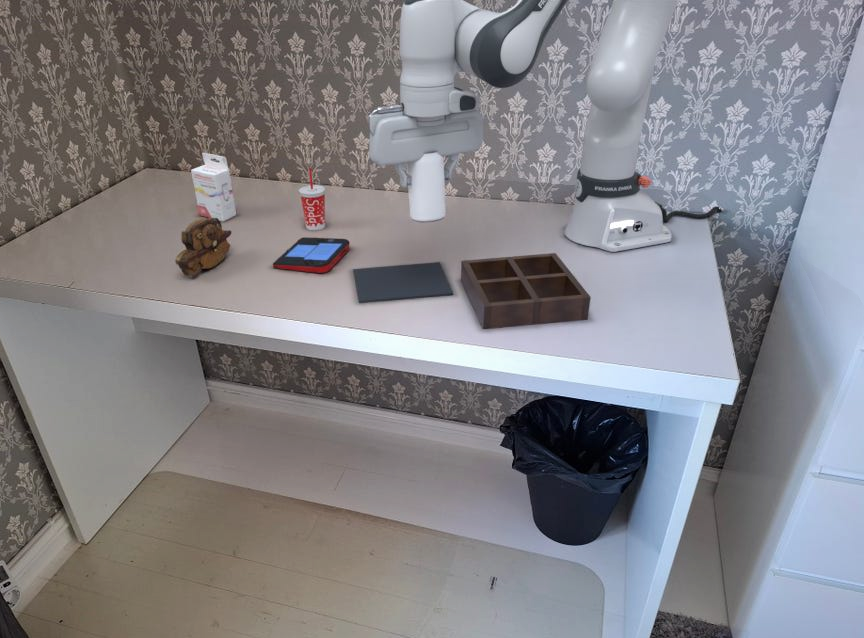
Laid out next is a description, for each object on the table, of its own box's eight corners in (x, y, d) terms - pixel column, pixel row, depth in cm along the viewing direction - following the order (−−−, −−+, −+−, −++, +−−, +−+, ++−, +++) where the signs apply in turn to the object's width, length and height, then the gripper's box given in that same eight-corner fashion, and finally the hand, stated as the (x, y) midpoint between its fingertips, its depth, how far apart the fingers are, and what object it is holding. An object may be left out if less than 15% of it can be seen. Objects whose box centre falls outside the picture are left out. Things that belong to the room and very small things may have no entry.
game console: (301, 241, 153) (300, 232, 152) (353, 248, 149) (353, 238, 148) (271, 268, 142) (269, 258, 141) (326, 276, 138) (325, 266, 137)
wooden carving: (197, 284, 137) (187, 238, 131) (178, 282, 138) (167, 236, 133) (239, 252, 149) (231, 208, 144) (221, 250, 151) (213, 207, 145)
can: (443, 222, 119) (440, 152, 113) (407, 223, 120) (402, 154, 115) (448, 212, 124) (445, 144, 119) (413, 212, 126) (409, 146, 120)
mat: (439, 264, 141) (439, 261, 141) (453, 295, 129) (453, 292, 129) (353, 271, 139) (353, 269, 139) (359, 303, 128) (358, 300, 127)
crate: (553, 273, 135) (555, 252, 133) (587, 319, 120) (590, 297, 117) (460, 281, 134) (461, 260, 131) (483, 329, 118) (484, 306, 116)
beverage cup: (298, 229, 159) (291, 170, 152) (309, 220, 164) (303, 162, 156) (321, 232, 157) (316, 173, 150) (332, 223, 162) (327, 164, 154)
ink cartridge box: (198, 216, 169) (186, 157, 161) (212, 209, 172) (202, 151, 164) (223, 222, 165) (213, 161, 157) (237, 215, 168) (228, 156, 160)
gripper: (375, 112, 106) (378, 197, 114) (489, 97, 112) (485, 179, 120) (361, 103, 111) (364, 186, 119) (471, 90, 117) (468, 169, 125)
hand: (426, 182), depth 119 cm, fingers closed on can, 6 cm apart
